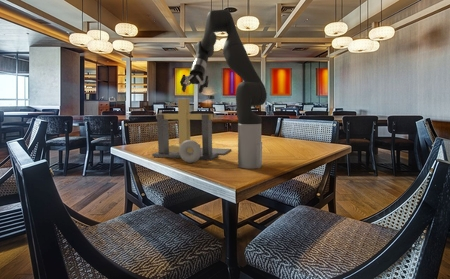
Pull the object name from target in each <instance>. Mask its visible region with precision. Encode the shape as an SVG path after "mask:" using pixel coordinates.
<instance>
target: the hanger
mask: <svg viewBox="0 0 450 279" xmlns="http://www.w3.org/2000/svg"><path fill="white" fill-rule="evenodd" d="M177 109H178V112H177V113H162V114H163V118H164V119H168V120H177V121H178V143H176V144H175V143H174V144H173V145H169V151H170V152H179V148H180V145H181V144H182V143H183V142H184V141H186V140H191V120H192V121H193V120H197V121H198V120H201V121H202V114H203V113H190V112H191V110H190V109H191V108H190V98H177ZM157 114H158V113H156V115H155V118H156V120H157ZM208 114H209V120H212V121H213V120H214V113H208ZM198 144H199V145H200V147H201V144H200V143H198ZM201 148H202V147H201ZM187 152H190V153H193V152H194V151H193V149H192V148H188V149H187Z"/></svg>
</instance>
